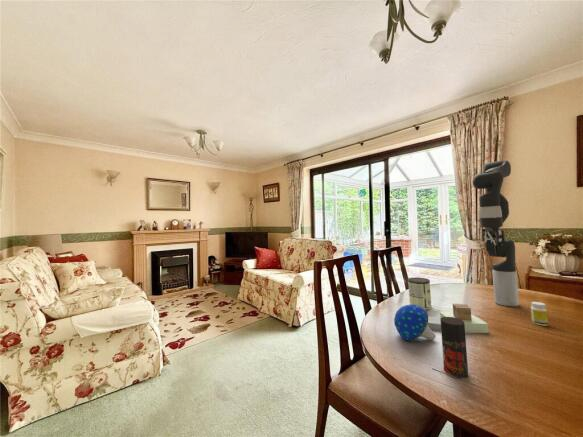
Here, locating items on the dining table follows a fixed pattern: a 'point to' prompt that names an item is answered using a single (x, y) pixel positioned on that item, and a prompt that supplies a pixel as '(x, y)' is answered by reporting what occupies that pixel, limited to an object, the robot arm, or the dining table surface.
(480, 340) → the dining table surface
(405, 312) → the mushroom
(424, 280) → the coffee can
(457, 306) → the walnut cube
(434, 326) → the slate block
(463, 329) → the deodorant
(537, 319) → the supplement bottle
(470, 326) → the sage block
